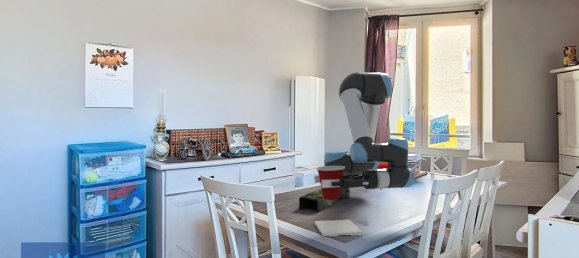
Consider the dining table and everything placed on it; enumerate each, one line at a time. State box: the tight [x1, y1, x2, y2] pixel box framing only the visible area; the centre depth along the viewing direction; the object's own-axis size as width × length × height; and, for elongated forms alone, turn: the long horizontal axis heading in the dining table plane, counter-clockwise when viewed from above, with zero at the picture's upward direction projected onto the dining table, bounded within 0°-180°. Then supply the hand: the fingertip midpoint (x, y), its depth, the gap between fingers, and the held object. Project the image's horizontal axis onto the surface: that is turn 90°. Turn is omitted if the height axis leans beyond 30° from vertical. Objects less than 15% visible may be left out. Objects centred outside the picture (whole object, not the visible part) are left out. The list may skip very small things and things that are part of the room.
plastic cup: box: [315, 165, 345, 201], centre depth 129 cm, size 11×11×12 cm
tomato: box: [377, 162, 388, 169], centre depth 211 cm, size 11×11×13 cm
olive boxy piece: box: [298, 189, 336, 213], centre depth 159 cm, size 20×10×6 cm, turn 150°
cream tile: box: [314, 219, 363, 237], centre depth 127 cm, size 14×14×1 cm
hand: (318, 181), depth 128 cm, fingers closed on plastic cup, 8 cm apart
